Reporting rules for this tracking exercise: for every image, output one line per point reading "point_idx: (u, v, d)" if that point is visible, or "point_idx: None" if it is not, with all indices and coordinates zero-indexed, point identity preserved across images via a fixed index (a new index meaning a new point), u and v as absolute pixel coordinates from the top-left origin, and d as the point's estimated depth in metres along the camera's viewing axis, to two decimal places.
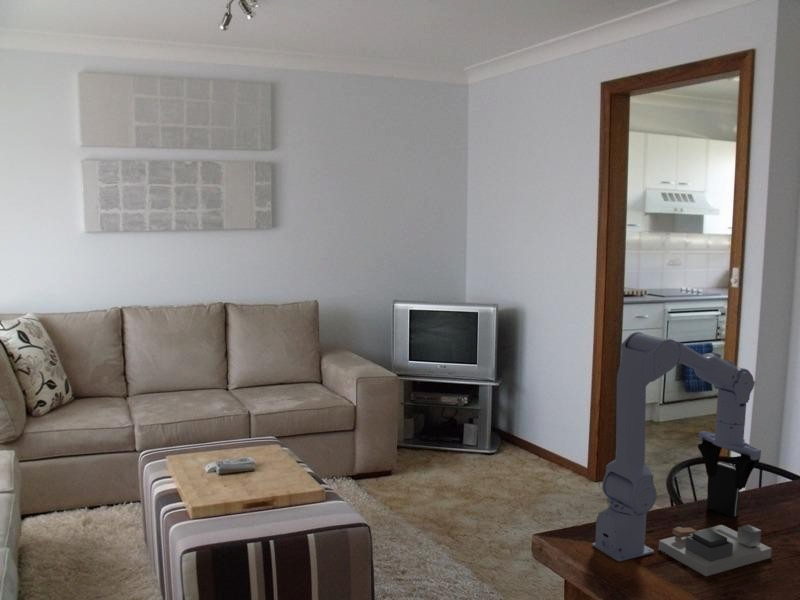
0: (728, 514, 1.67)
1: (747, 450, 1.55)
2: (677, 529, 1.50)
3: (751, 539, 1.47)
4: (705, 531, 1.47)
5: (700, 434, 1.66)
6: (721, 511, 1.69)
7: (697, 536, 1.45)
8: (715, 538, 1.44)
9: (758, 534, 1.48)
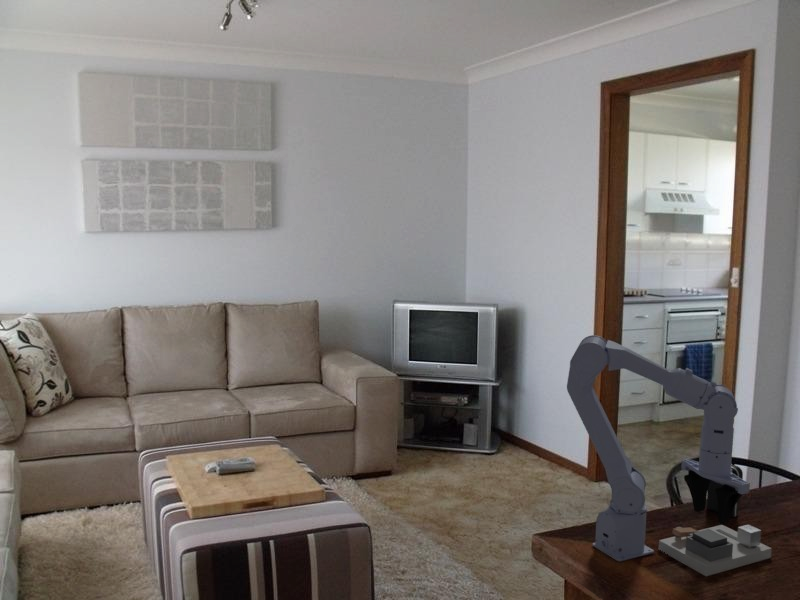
0: None
1: (734, 483, 1.38)
2: (677, 529, 1.50)
3: (751, 539, 1.47)
4: (705, 531, 1.47)
5: (683, 462, 1.49)
6: None
7: (697, 536, 1.45)
8: (715, 538, 1.44)
9: (758, 534, 1.48)
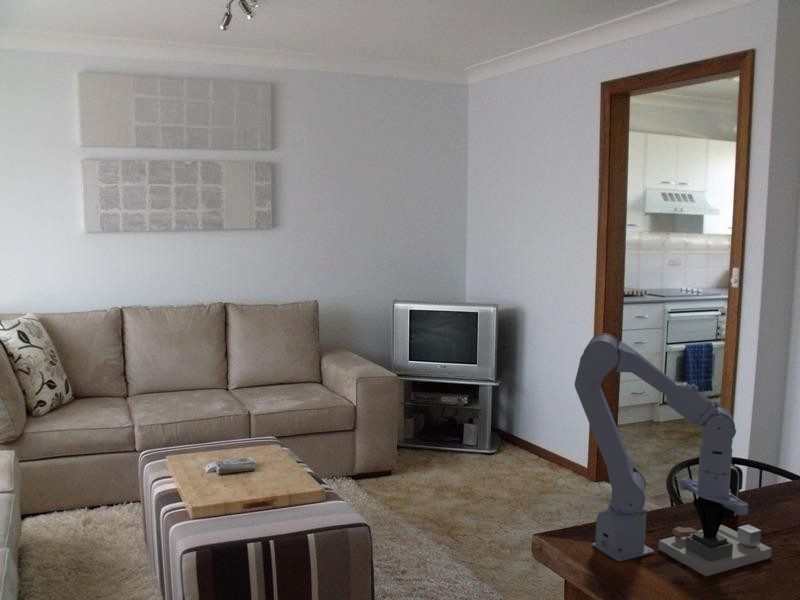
0: (728, 514, 1.67)
1: (733, 504, 1.39)
2: (677, 529, 1.50)
3: (751, 539, 1.47)
4: None
5: (682, 482, 1.50)
6: None
7: (697, 537, 1.45)
8: (715, 538, 1.44)
9: (758, 534, 1.48)
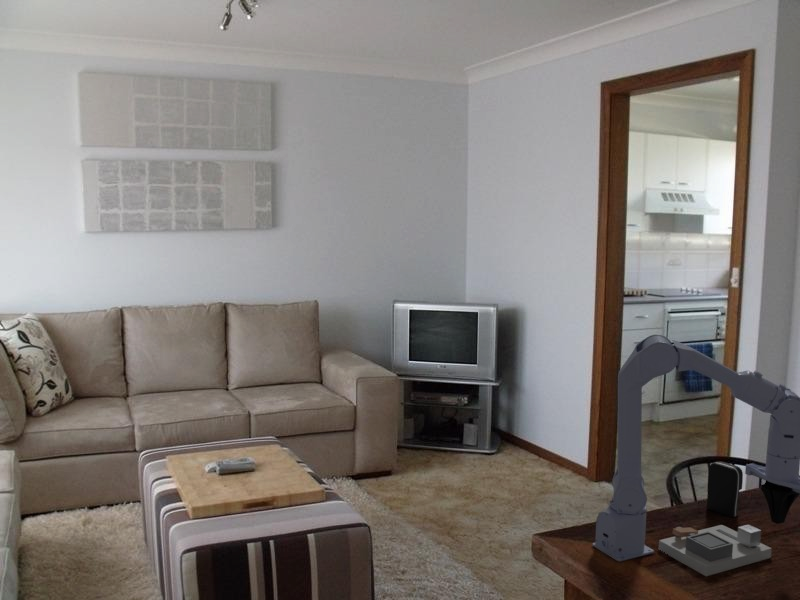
0: (728, 514, 1.67)
1: None
2: (677, 529, 1.50)
3: (751, 539, 1.47)
4: (705, 536, 1.47)
5: (747, 467, 1.47)
6: (721, 511, 1.69)
7: None
8: (714, 543, 1.44)
9: (758, 534, 1.48)
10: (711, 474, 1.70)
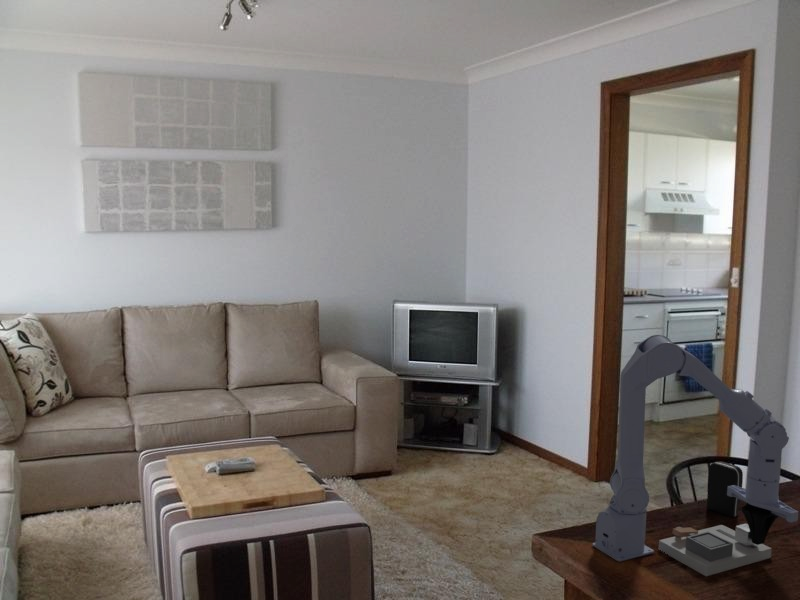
0: (728, 514, 1.67)
1: (783, 511, 1.40)
2: (677, 529, 1.50)
3: (748, 538, 1.48)
4: (705, 536, 1.47)
5: (729, 489, 1.52)
6: (721, 511, 1.69)
7: None
8: (714, 543, 1.44)
9: None
10: (711, 474, 1.70)
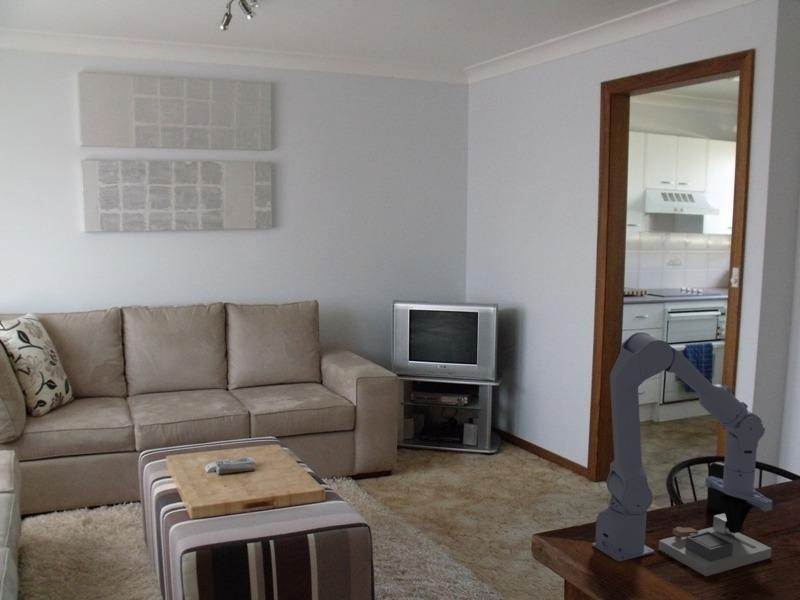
0: None
1: (758, 500, 1.45)
2: (677, 529, 1.50)
3: (725, 527, 1.53)
4: (705, 536, 1.47)
5: (707, 480, 1.57)
6: (721, 511, 1.69)
7: None
8: (714, 543, 1.44)
9: None
10: (711, 474, 1.70)
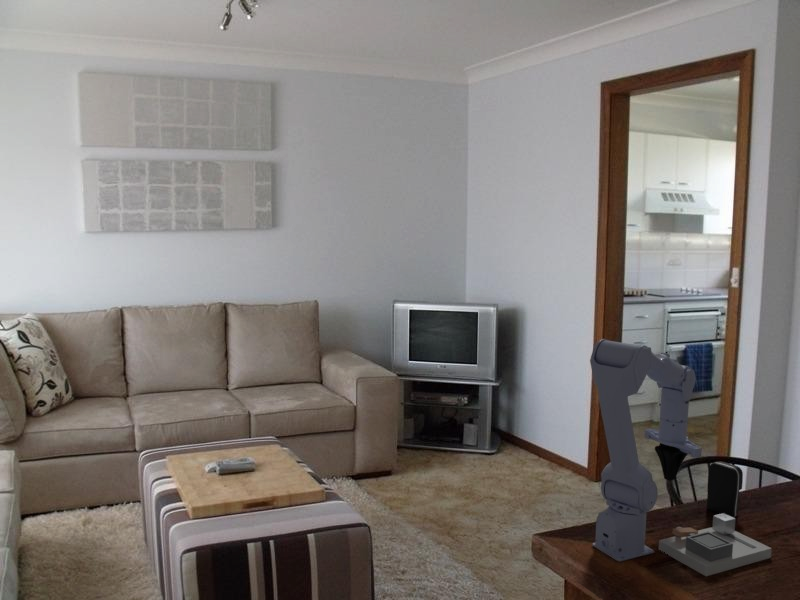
0: (728, 514, 1.67)
1: (688, 447, 1.56)
2: (677, 529, 1.50)
3: (725, 527, 1.53)
4: (705, 536, 1.47)
5: (646, 432, 1.67)
6: (721, 511, 1.69)
7: None
8: (714, 543, 1.44)
9: (732, 522, 1.53)
10: (711, 474, 1.70)
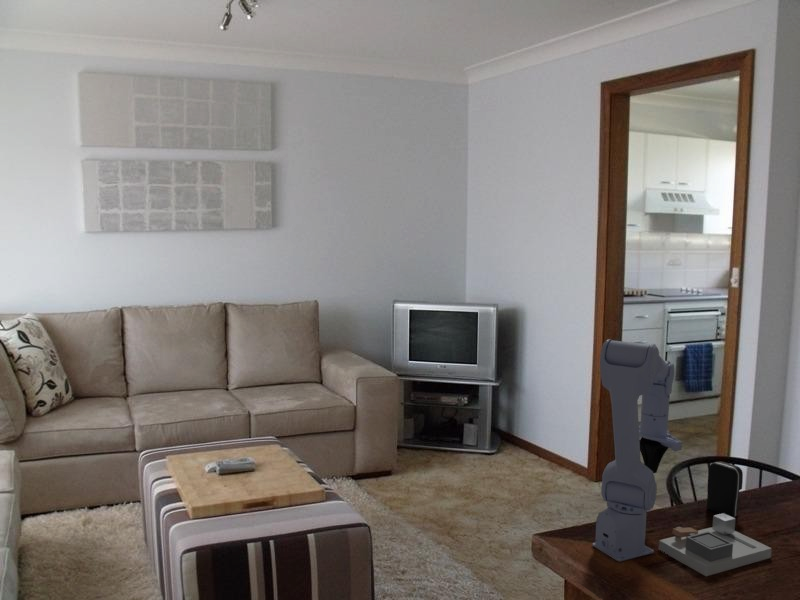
0: (728, 514, 1.67)
1: (669, 441, 1.59)
2: (677, 529, 1.50)
3: (725, 527, 1.53)
4: (705, 536, 1.47)
5: None
6: (721, 511, 1.69)
7: None
8: (714, 543, 1.44)
9: (732, 522, 1.53)
10: (711, 474, 1.70)
